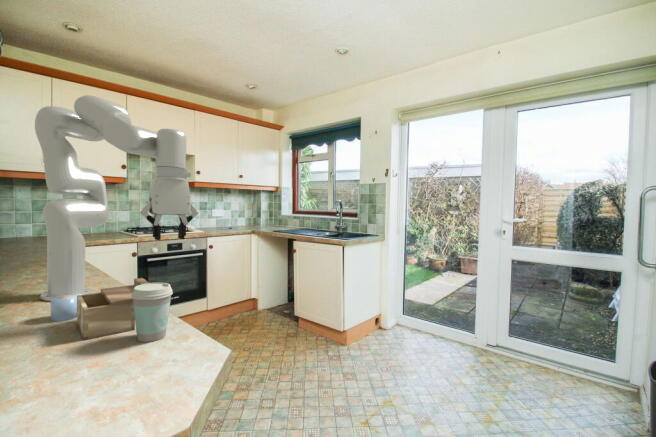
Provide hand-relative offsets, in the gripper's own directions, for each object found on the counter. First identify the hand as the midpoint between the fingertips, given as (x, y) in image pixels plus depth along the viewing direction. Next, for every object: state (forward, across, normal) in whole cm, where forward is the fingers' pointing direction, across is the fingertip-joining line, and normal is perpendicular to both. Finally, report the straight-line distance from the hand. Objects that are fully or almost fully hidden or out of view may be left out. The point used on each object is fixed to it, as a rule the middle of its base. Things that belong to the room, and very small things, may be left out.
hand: (169, 238), depth 89 cm
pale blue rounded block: (+22, +22, -13) cm, 33 cm away
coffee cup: (+22, +8, +14) cm, 27 cm away
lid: (+14, +10, 0) cm, 17 cm away
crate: (+22, +15, 0) cm, 26 cm away
